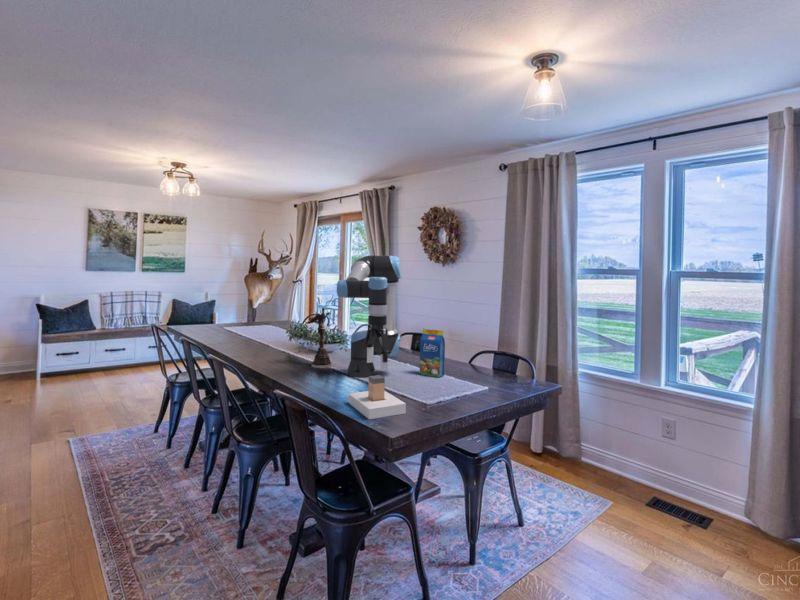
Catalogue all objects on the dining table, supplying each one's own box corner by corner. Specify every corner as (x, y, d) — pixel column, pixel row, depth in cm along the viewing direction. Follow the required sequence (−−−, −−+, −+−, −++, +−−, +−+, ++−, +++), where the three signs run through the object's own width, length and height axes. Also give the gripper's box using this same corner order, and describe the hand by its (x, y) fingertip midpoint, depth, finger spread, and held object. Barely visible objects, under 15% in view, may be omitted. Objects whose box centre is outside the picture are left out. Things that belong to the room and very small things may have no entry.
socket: (348, 402, 180) (348, 393, 180) (382, 397, 188) (382, 389, 187) (369, 419, 161) (369, 409, 160) (405, 413, 168) (405, 403, 168)
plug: (368, 406, 175) (368, 376, 174) (379, 405, 178) (379, 375, 177) (373, 410, 171) (373, 379, 170) (384, 408, 173) (384, 377, 172)
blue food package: (439, 378, 224) (440, 331, 222) (419, 374, 230) (420, 329, 228) (444, 375, 229) (445, 330, 227) (424, 372, 235) (425, 328, 233)
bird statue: (299, 365, 246) (299, 305, 243) (315, 361, 256) (315, 304, 254) (319, 369, 236) (319, 307, 234) (335, 365, 247) (336, 306, 244)
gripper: (357, 311, 180) (356, 360, 182) (382, 319, 159) (381, 374, 160) (373, 311, 184) (372, 358, 186) (400, 318, 162) (398, 372, 164)
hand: (376, 366), depth 173 cm, fingers open, 13 cm apart
